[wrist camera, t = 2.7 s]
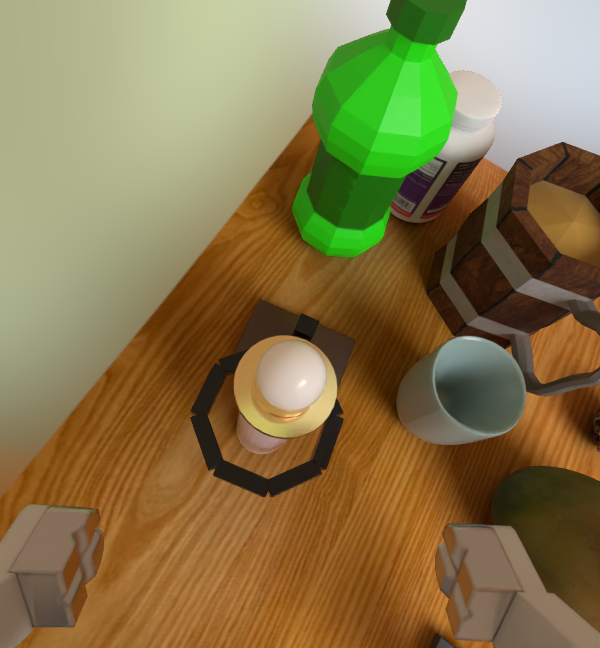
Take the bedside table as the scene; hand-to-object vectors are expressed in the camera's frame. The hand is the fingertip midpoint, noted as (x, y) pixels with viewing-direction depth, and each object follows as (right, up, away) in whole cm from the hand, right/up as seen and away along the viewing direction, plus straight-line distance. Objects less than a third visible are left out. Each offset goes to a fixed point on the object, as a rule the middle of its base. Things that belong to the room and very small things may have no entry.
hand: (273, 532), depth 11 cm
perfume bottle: (-3, -4, +29) cm, 30 cm away
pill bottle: (+13, +19, +41) cm, 48 cm away
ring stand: (-2, -2, +30) cm, 30 cm away
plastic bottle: (+4, +15, +38) cm, 41 cm away
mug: (+21, +5, +37) cm, 43 cm away
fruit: (+21, -15, +29) cm, 39 cm away
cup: (+12, -3, +32) cm, 35 cm away
